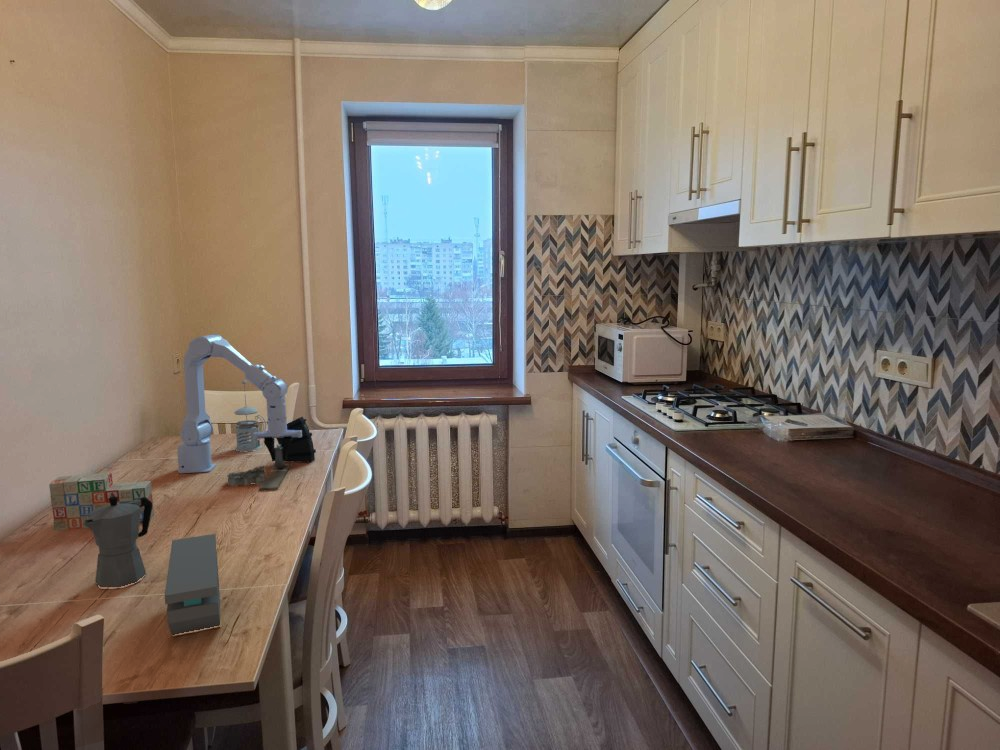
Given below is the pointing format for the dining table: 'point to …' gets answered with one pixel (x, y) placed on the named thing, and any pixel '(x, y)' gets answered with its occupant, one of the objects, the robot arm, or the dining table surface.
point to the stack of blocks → (91, 497)
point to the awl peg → (279, 457)
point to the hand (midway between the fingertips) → (279, 459)
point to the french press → (247, 429)
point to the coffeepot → (119, 541)
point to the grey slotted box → (193, 585)
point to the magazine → (300, 443)
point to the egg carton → (247, 477)
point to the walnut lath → (274, 478)
